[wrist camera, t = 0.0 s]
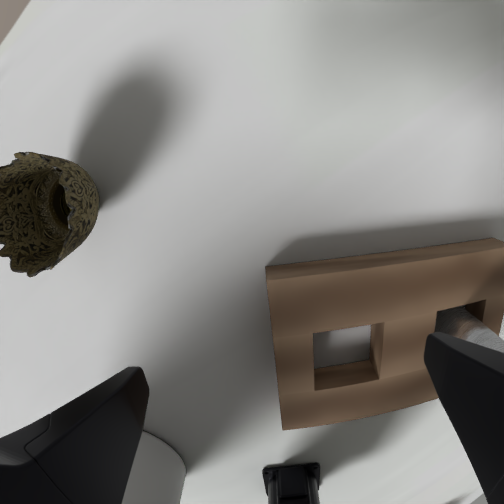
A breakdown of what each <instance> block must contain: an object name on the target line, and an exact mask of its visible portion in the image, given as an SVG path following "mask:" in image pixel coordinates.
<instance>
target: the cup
mask: <svg viewBox="0 0 504 504" xmlns="http://www.w3.org/2000/svg"><path fill="white" fill-rule="evenodd" d="M14 155H15V158H18V159H15V160H13V161H12V163H11V164H10V165H6V166H1V167H0V244H4V247H3V248H2V249H1V250H0V256H1V257H9V258H10V259H11V261H10V268H11V270H12V271H14V272H18V273H24V272H27V276H28V277H33V276H36V275H37V274H38V273H39V272H41V271H43V270H48V269H50V270H51V269H52V268H53V267H54V266H55V265H56V264H58V263H59V262H60V261H61V260H63V259H64V258H65V257H66V256H68V255H69V254H70V253H71V252H73V251H74V250H75V249H76V248H77V247H78V246H80V245H81V244H82V243H83V242H84V241H85V239H86V238H87V237H88V236H89V234H90V233H91V231H92V229H93V227H94V225H95V223H96V220H97V216H98V210H99V193H98V190H97V188H96V187H95V184H94V182H93V180H92V179H91V177H90V176H89V174H88V173H87V172H86V171H85V170H84V169H83V168H82V167H80V166H79V165H77V164H75V163H73V162H71V161H68V160H65V159H62V158H58V157H53V156H48V155H43V154H37V153H33V152H25V153H24V152H18V153H15V154H14Z"/></svg>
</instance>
